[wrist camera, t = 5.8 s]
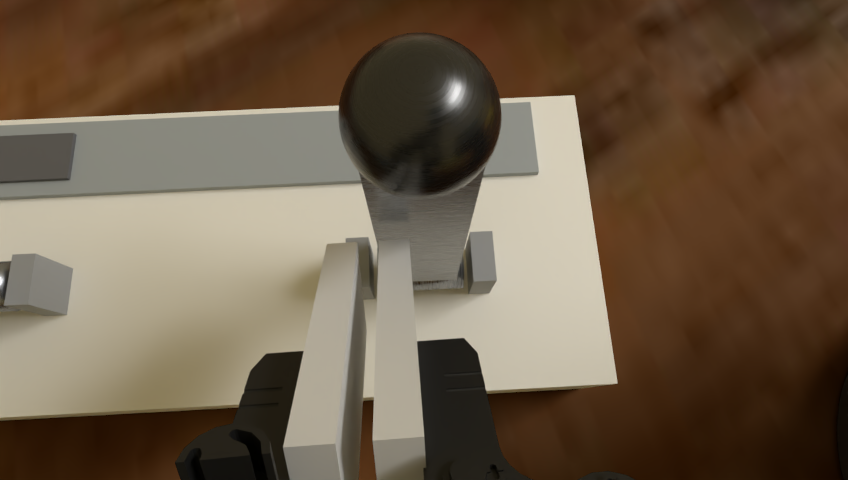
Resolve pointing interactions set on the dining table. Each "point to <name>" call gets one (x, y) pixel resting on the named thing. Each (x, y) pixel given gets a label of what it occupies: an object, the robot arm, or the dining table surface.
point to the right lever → (421, 146)
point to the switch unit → (268, 256)
